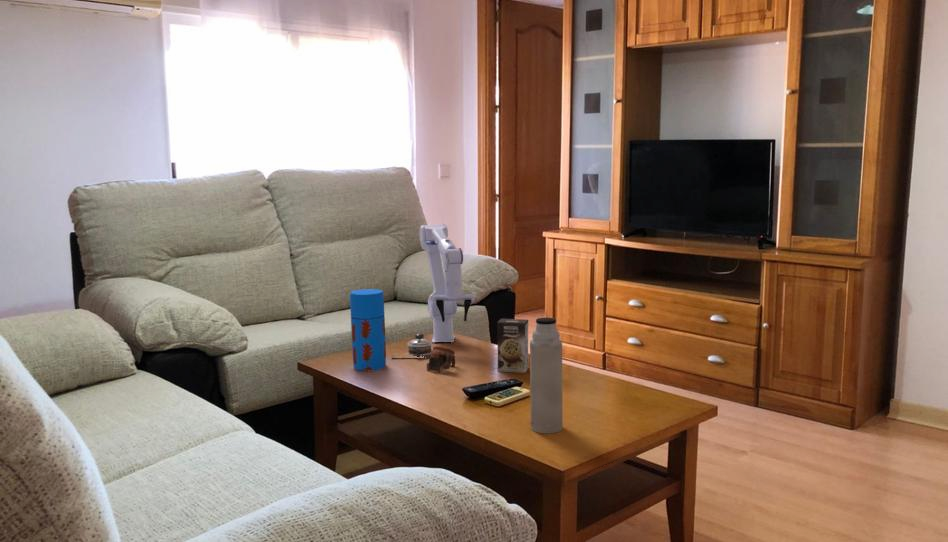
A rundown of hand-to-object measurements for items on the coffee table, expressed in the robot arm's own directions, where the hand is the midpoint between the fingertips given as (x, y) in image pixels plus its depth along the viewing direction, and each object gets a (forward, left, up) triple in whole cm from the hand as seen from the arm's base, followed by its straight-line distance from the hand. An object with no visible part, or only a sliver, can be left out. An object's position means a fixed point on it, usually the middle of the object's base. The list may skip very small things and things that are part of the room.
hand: (454, 321), depth 275 cm
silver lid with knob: (+5, -12, -7) cm, 15 cm away
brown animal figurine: (+24, -3, -11) cm, 27 cm away
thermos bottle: (+81, +27, -11) cm, 86 cm away
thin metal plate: (+5, -12, -10) cm, 17 cm away
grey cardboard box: (+27, +20, -11) cm, 35 cm away
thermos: (+21, -27, -11) cm, 36 cm away
